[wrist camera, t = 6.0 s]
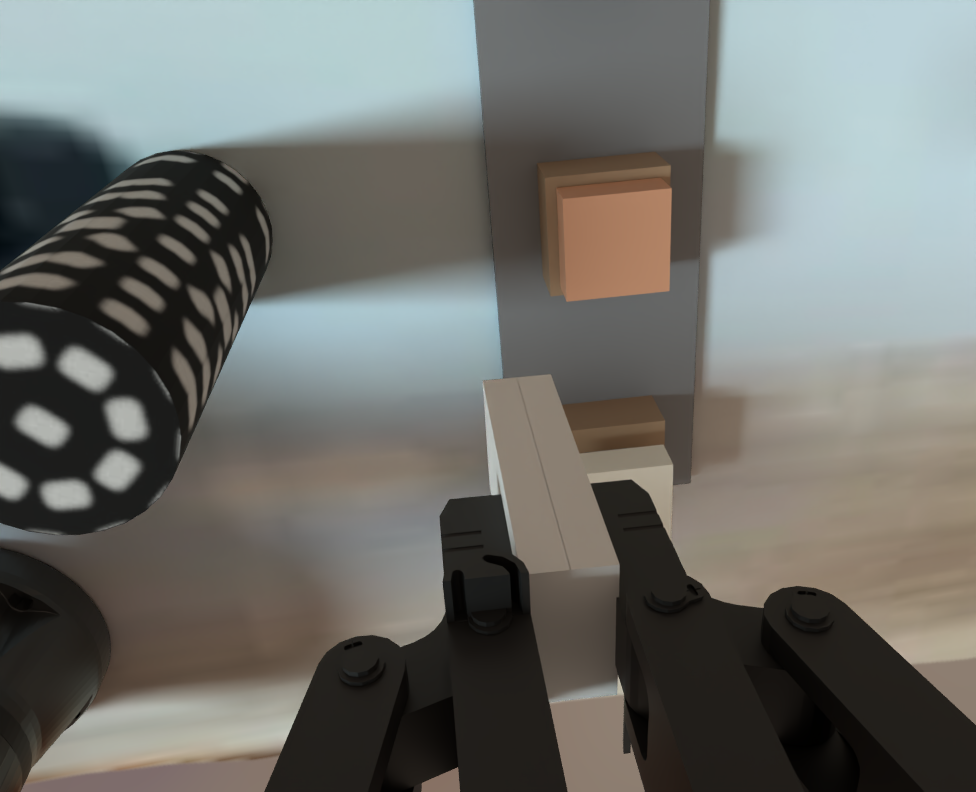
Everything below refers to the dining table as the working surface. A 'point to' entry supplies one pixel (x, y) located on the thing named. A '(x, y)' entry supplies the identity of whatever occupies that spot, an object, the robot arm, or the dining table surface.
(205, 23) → the dining table surface
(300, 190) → the dining table surface
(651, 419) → the button board
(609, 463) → the button cream
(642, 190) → the orange cube
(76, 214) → the spotted tube
